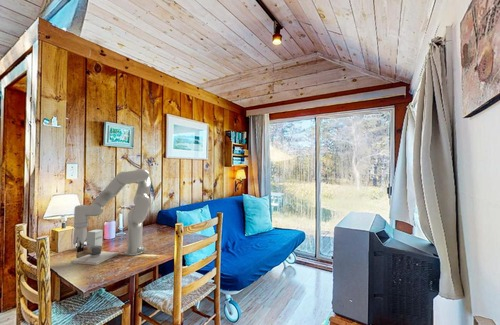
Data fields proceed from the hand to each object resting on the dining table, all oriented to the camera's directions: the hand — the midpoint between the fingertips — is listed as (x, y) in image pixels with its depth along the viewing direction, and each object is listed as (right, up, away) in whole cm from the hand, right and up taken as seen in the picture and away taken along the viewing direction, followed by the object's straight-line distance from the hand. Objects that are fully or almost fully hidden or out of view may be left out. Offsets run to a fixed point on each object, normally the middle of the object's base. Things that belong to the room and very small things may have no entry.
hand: (80, 253), depth 149 cm
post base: (+5, -6, +7) cm, 10 cm away
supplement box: (-10, -7, +28) cm, 31 cm away
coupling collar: (+4, -2, +3) cm, 5 cm away
